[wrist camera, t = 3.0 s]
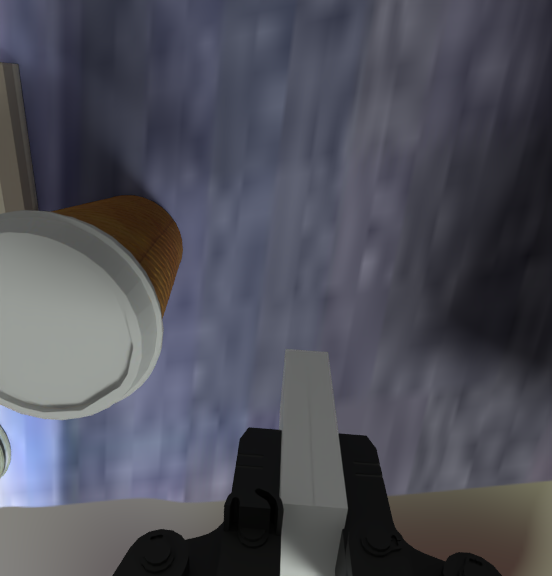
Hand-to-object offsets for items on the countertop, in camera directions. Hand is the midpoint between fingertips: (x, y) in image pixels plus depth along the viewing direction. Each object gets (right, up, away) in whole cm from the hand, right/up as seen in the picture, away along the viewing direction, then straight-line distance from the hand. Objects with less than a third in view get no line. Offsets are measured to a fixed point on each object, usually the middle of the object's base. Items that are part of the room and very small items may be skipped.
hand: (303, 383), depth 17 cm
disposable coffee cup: (-10, +6, +13) cm, 18 cm away
